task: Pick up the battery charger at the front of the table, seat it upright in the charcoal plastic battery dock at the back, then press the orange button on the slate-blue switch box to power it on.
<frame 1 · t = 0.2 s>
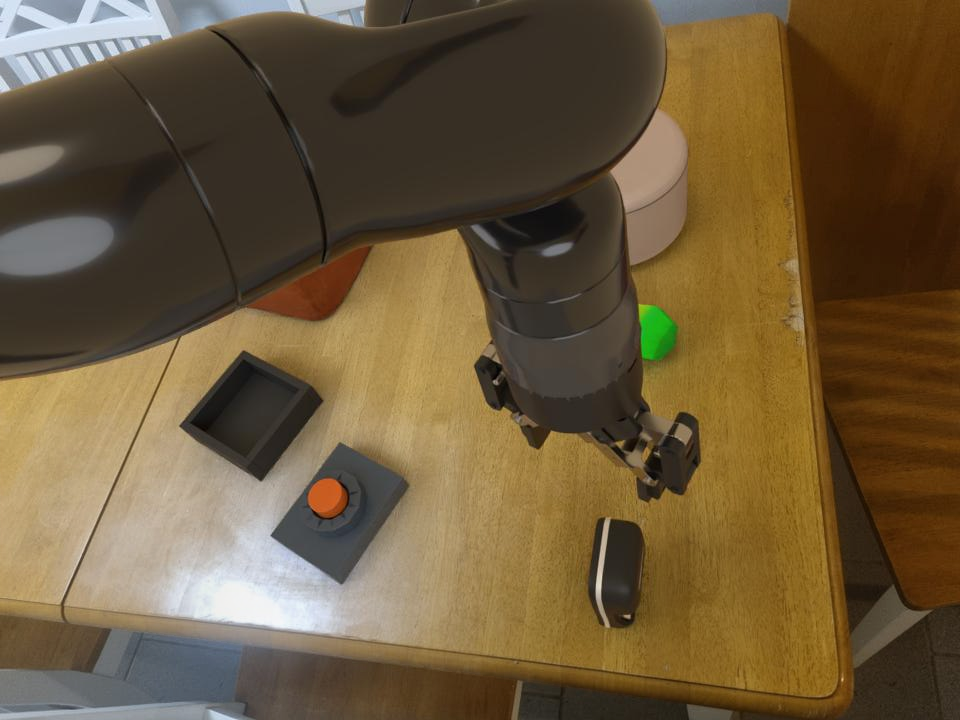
hand: (594, 462, 51), 21 cm above the table, tool pointing down, fingers open, 8 cm apart
bread: (283, 263, 100), on the table
container: (612, 221, 91), on the table
dock: (259, 420, 86), on the table
bottle: (97, 294, 105), on the table
battery charger: (624, 593, 67), on the table
apple: (638, 343, 81), on the table
switch box: (344, 514, 77), on the table
power button: (328, 498, 74), point 4 cm above the table, slide at 0.1 cm
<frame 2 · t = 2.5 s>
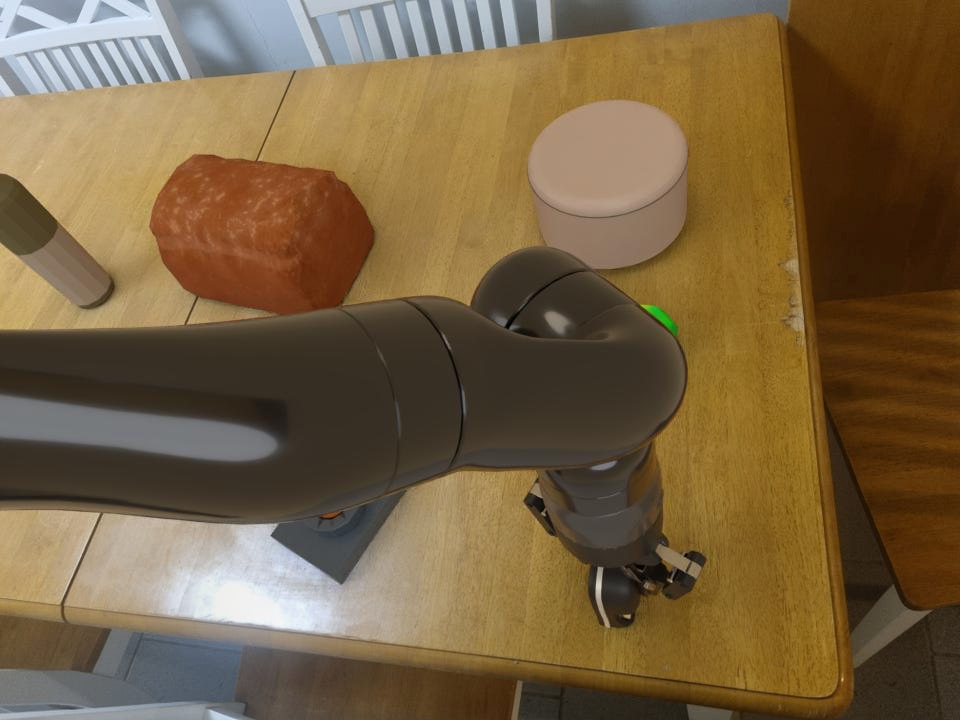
hand: (619, 568, 61), 7 cm above the table, tool pointing down, fingers closed on battery charger, 5 cm apart
battery charger: (624, 593, 67), on the table, touching gripper
everything else where it was.
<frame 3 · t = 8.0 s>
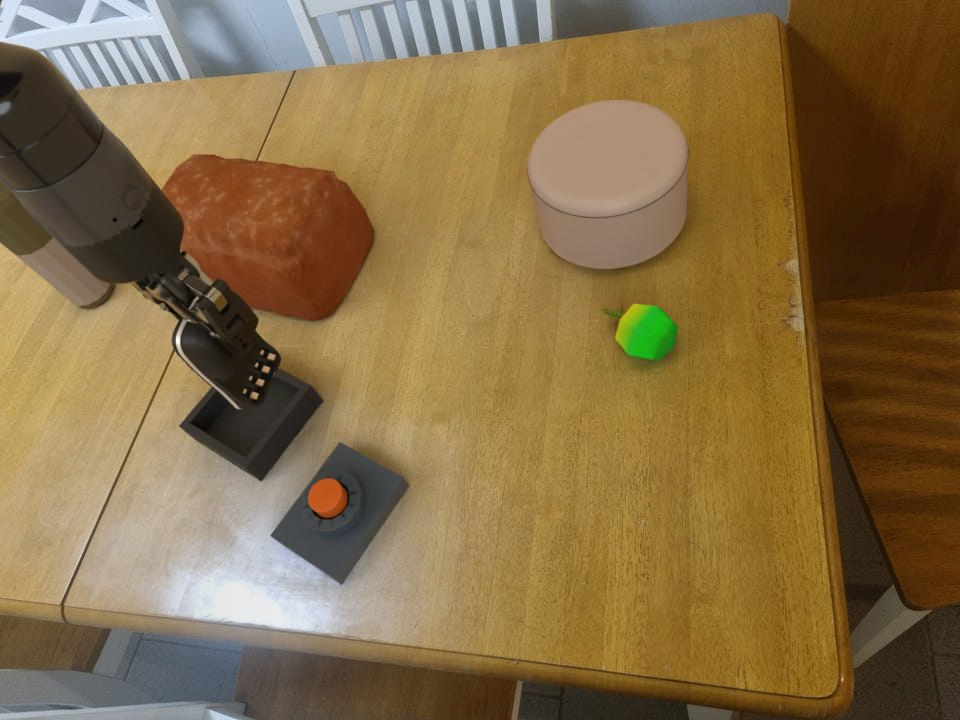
hand: (224, 339, 64), 22 cm above the table, tool pointing down, fingers closed on battery charger, 5 cm apart
battery charger: (264, 382, 70), point 15 cm above the table, touching gripper
everything else where it was.
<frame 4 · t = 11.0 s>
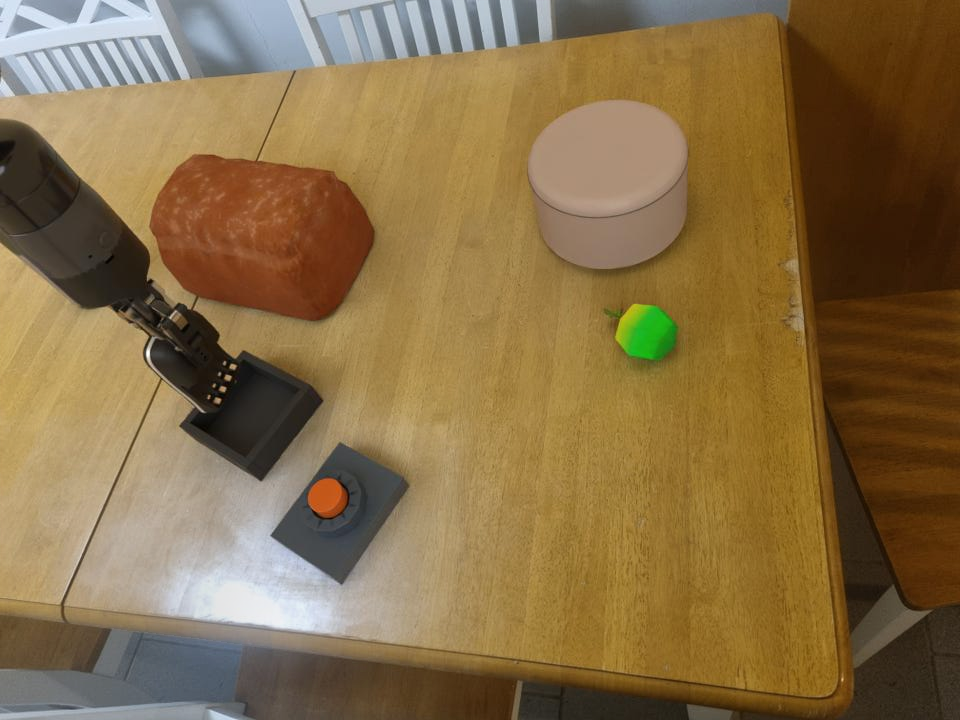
hand: (189, 352, 74), 15 cm above the table, tool pointing down, fingers closed on battery charger, 5 cm apart
battery charger: (226, 389, 80), point 7 cm above the table, touching gripper
everything else where it was.
when the fingers open (8 cm above the table, at t = 13.4 s): battery charger stays where it is, resting on dock.
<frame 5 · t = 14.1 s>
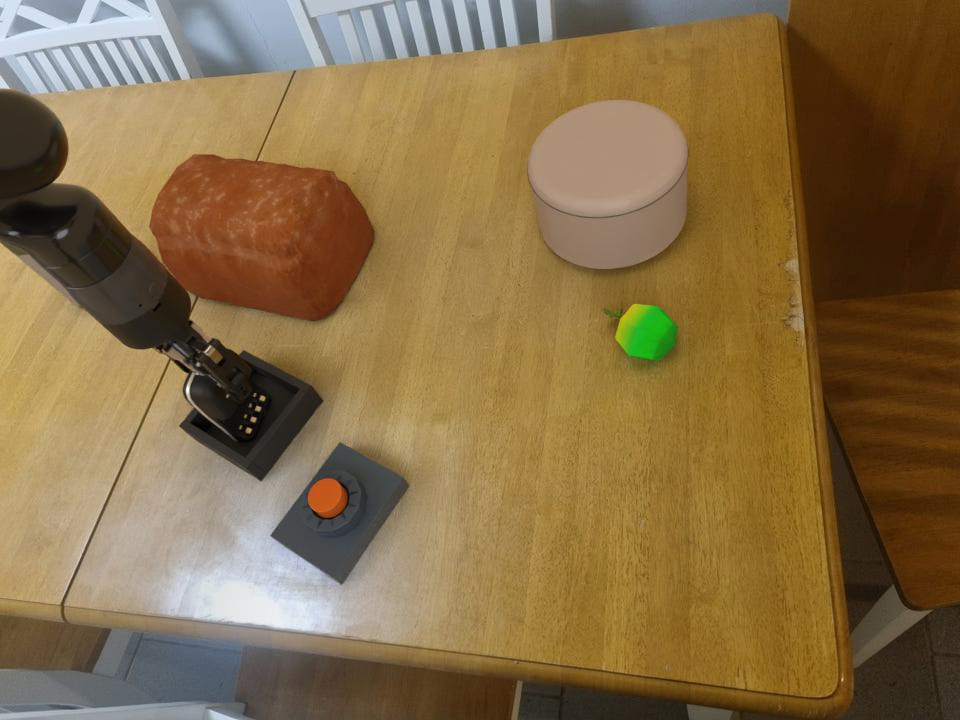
hand: (219, 380, 79), 9 cm above the table, tool pointing down, fingers open, 8 cm apart
battery charger: (256, 419, 86), resting on dock
everything else where it was.
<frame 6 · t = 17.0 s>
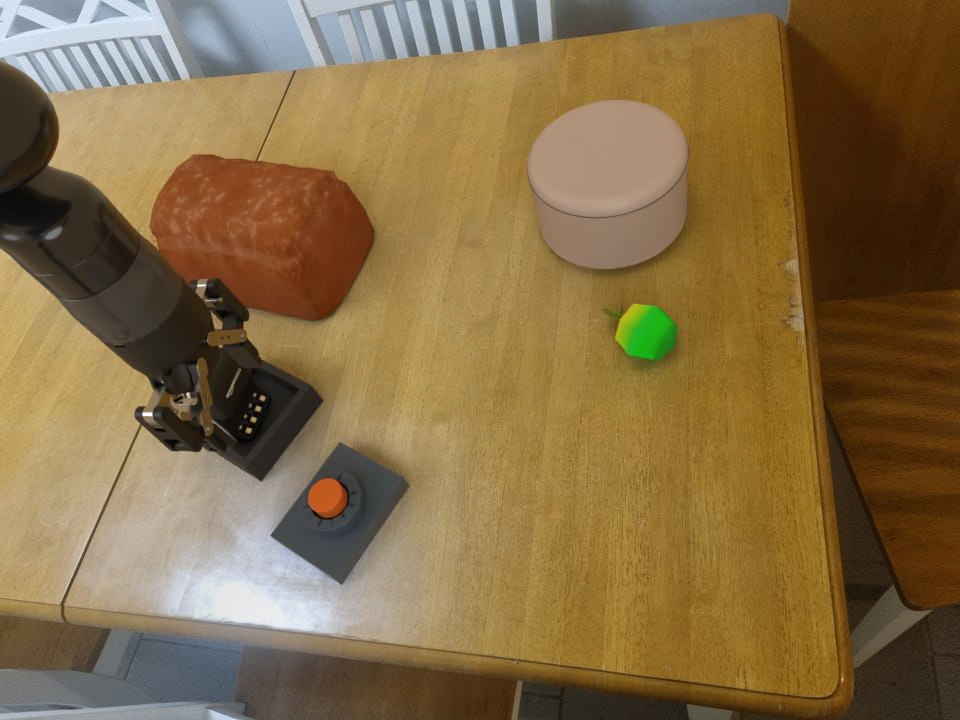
hand: (239, 404, 68), 16 cm above the table, tool pointing down, fingers open, 8 cm apart
nothing on the table moved.
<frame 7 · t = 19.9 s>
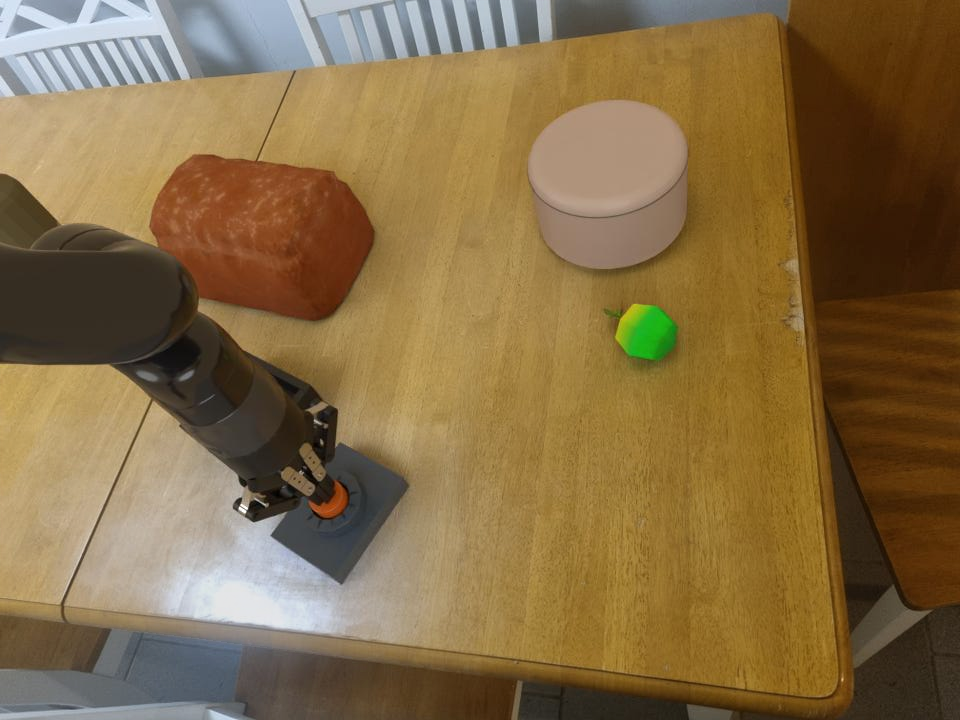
hand: (325, 494, 73), 5 cm above the table, tool pointing down, fingers closed
power button: (328, 498, 74), point 4 cm above the table, slide at -0.1 cm, touching gripper
everything else where it was.
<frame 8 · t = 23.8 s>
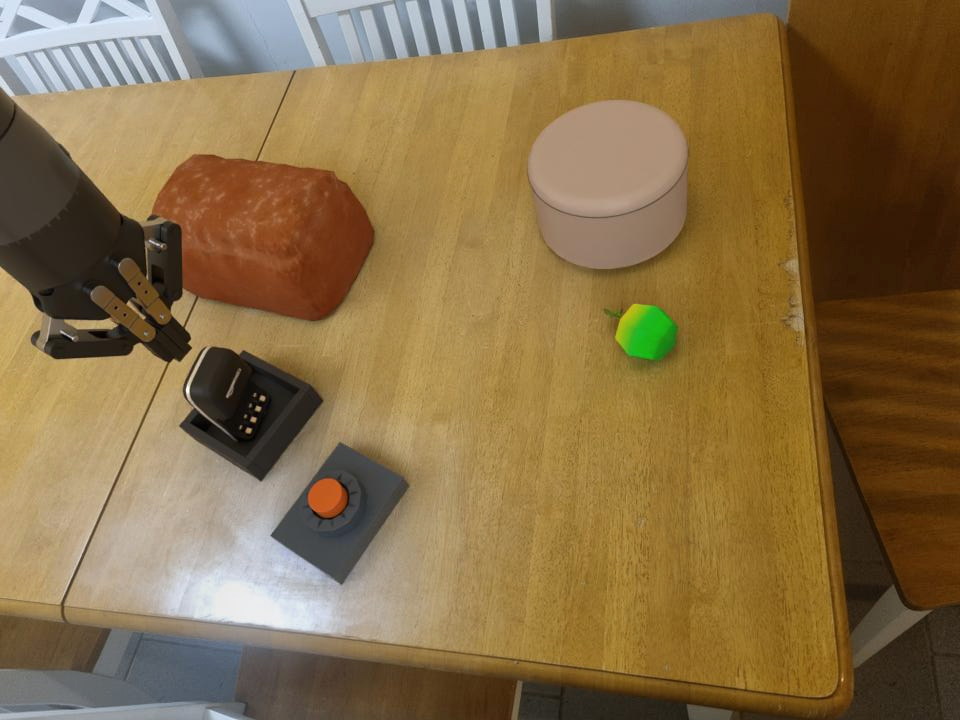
hand: (179, 351, 58), 27 cm above the table, tool pointing down, fingers closed
power button: (328, 498, 74), point 4 cm above the table, slide at 0.1 cm
everything else where it was.
at the end: battery charger 0.1 cm off-centre in the dock, point 0.4 cm above the dock's base; battery charger tilted 0°; power button pushed in 1.1 cm at the most during the clip, back to where it started at the end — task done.
